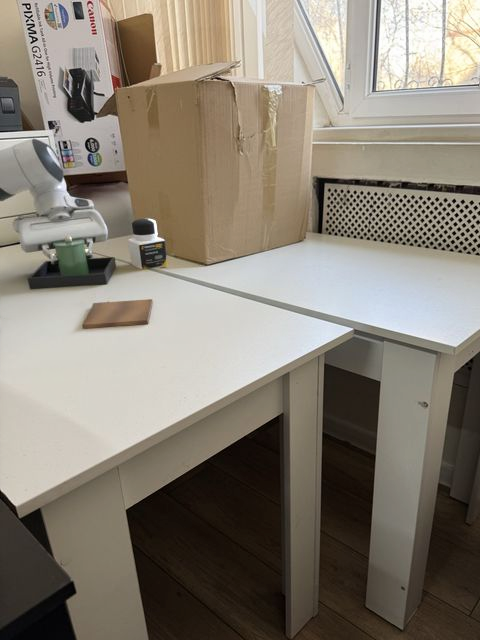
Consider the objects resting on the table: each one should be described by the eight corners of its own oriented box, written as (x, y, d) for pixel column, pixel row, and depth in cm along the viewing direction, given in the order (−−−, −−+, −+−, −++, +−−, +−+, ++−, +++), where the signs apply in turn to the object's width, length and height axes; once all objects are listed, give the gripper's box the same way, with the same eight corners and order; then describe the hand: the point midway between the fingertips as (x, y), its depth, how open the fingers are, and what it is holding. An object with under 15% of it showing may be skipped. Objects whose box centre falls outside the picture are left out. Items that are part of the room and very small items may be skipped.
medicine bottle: (142, 271, 128) (136, 223, 123) (131, 266, 133) (124, 219, 128) (168, 266, 131) (162, 219, 126) (156, 261, 137) (150, 215, 132)
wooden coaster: (82, 328, 94) (82, 324, 94) (94, 306, 105) (93, 303, 105) (148, 323, 96) (147, 320, 95) (152, 302, 106) (152, 299, 106)
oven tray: (30, 291, 116) (27, 278, 114) (47, 272, 129) (45, 261, 128) (107, 286, 117) (105, 273, 116) (116, 268, 131) (114, 256, 130)
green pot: (57, 282, 120) (48, 240, 115) (64, 273, 126) (55, 233, 122) (87, 280, 120) (79, 238, 116) (92, 272, 127) (85, 232, 122)
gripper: (9, 209, 117) (25, 259, 113) (98, 199, 126) (115, 246, 123) (11, 225, 122) (27, 274, 119) (96, 215, 132) (113, 260, 128)
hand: (72, 259), depth 121 cm, fingers closed on green pot, 6 cm apart
